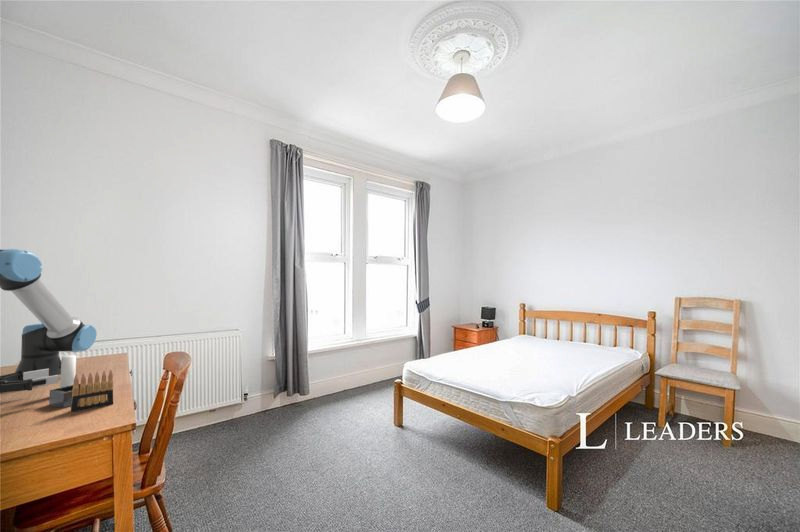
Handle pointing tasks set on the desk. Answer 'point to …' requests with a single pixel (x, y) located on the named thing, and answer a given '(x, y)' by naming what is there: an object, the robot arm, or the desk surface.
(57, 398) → the square open box
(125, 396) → the desk surface
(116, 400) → the desk surface
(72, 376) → the cylinder
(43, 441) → the desk surface
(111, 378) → the ammunition clip
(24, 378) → the robot arm
